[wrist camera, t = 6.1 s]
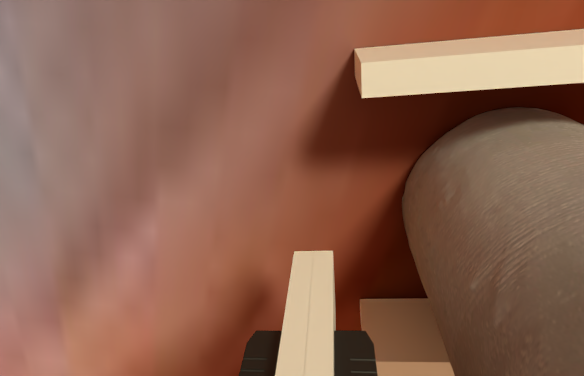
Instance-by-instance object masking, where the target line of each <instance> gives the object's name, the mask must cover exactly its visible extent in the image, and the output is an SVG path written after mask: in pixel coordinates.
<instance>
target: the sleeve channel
mask: <svg viewBox="0 0 584 376" xmlns="http://www.w3.org/2000/svg"><path fill="white" fill-rule="evenodd" d="M354 63H355V79H356V82H357V85H358V88H359V91H360V94H361V98H373V97H387V96H401V95H415V94H429V93H444V92H458V91H472V90H486V89H500V88H515V87H529V86H543V85H557V84H571V83H584V29H577V30H566V31H554V32H543V33H531V34H519V35H508V36H496V37H484V38H473V39H461V40H450V41H438V42H426V43H415V44H403V45H391V46H380V47H368V48H357V49H354ZM360 318H361V329H362V331H366V332H367V334H368V336H369V337H370V339H371V340H372V342H373V343H374V350H375V358H376V366H377V374H378V376H455V375H454V372H453V369H452V366H451V364H450V361H449V357H448V355H447V352H446V349H445V346H444V343H443V340H442V337H441V335H440V332H439V329H438V326H437V322H436V319H435V316H434V314H433V311H432V309H431V305H430V302H429V299H428V298H408V299H360Z"/></svg>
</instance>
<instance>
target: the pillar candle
mask: <svg viewBox="0 0 584 376" xmlns="http://www.w3.org/2000/svg"><path fill="white" fill-rule="evenodd" d="M402 214H403V220H404V226H405V231H406V234H407V237H408V242H409V247H410V250H411V253H412V255H413V258H414V261H415V264H416V267H417V270H418V273H419V275H420V278H421V282H422V284H423V287H424V290H425V292H426V294H427V297H428V299H429V302H430V305H431V309H432V311H433V314H434V316H435V319H436V322H437V326H438V329H439V332H440V335H441V337H442V340H443V343H444V346H445V349H446V352H447V355H448V357H449V361H450V364H451V366H452V369H453V372H454V375H455V376H584V125H583V124H581V123H578V122H576V121H574V120H572V119H570V118H568V117H566V116H563V115H561V114H558V113H555V112H551V111H547V110H543V109H538V108H525V107H511V108H503V109H497V110H492V111H487V112H484V113H481V114H478V115H476V116H474V117H472V118H470V119H468V120H466V121H465V122H463V123H461V124H460V125H459V126H457V127H455V128H454V129H452V130H451V131H449V132H447V133H446V134H444V135H443V136H442V137H441V138H439V139H438V140H437V141H436V142H435V143H434V144H433V145H432V146H430V147H429V148H428V149H427V150H426V151H425V152H424V153H423V154H422V156H421V157H420V158H419V159H418V161H417V162H416V164H415V166H414V168H413V169H412V171H411V173H410V175H409V177H408V179H407V181H406V185H405V192H404V195H403V197H402Z"/></svg>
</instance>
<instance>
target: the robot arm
mask: <svg viewBox="0 0 584 376" xmlns="http://www.w3.org/2000/svg"><path fill="white" fill-rule="evenodd" d="M240 370H241V371H240V373H239V376H378V374H377V366H376V358H375V350H374V343H373V342H372V340H371V339H370V337H369V336H368V334H367V332H366V331H336V311H335V285H334V262H333V251H294V256H293V262H292V269H291V275H290V282H289V288H288V295H287V301H286V308H285V314H284V321H283V327H282V331H256V332H255V333H254V334H253V336H252V337H251V338H250V340H249V341H248V342H247V345H246V349H245V353H244V357H243V361H242V365H241V369H240Z"/></svg>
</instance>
